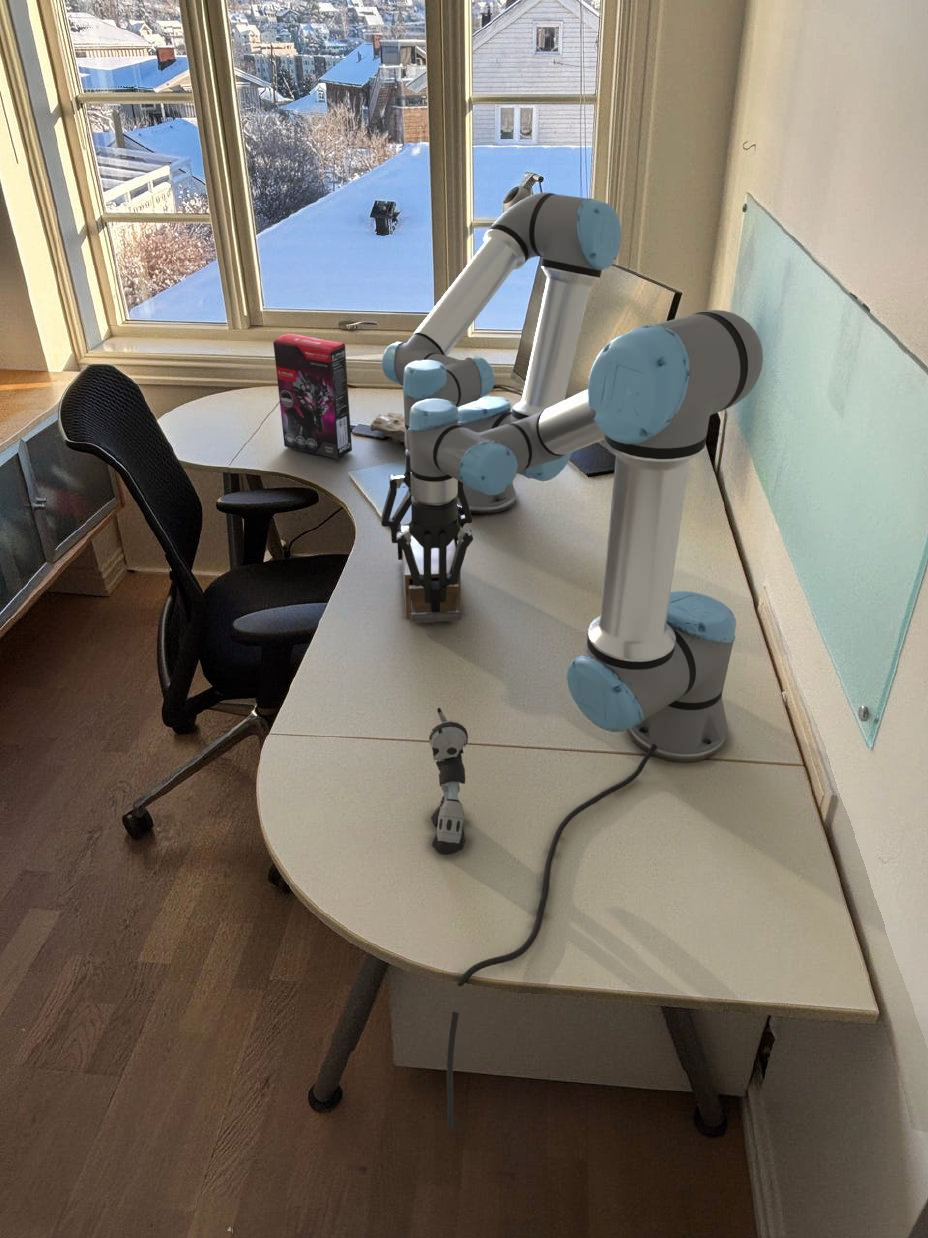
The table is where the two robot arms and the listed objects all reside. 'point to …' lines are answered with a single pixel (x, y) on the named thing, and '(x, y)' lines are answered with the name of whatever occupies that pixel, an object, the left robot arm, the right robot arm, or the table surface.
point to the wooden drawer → (423, 610)
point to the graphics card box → (313, 395)
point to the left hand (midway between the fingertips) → (427, 555)
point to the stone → (390, 426)
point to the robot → (449, 784)
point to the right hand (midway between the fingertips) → (435, 616)
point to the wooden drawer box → (418, 556)
